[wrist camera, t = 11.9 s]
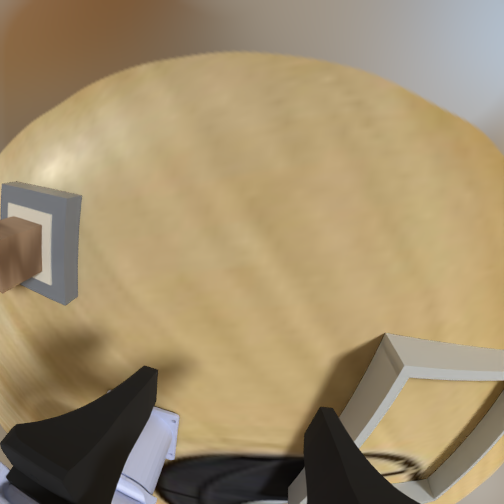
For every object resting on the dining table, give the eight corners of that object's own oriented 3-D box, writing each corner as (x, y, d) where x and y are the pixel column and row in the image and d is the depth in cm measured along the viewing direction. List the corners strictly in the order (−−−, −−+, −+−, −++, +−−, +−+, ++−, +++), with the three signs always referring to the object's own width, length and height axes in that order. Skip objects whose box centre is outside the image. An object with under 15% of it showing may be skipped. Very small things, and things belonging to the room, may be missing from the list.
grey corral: (427, 481, 28) (434, 500, 24) (288, 487, 29) (288, 514, 24) (529, 352, 21) (548, 370, 17) (385, 332, 21) (404, 365, 17)
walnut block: (42, 271, 20) (2, 293, 15) (14, 259, 20) (-24, 277, 15) (41, 225, 19) (-2, 240, 14) (13, 216, 19) (-28, 228, 14)
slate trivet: (77, 296, 22) (64, 306, 20) (15, 269, 23) (2, 276, 20) (81, 195, 20) (65, 198, 18) (16, 181, 20) (0, 183, 18)
